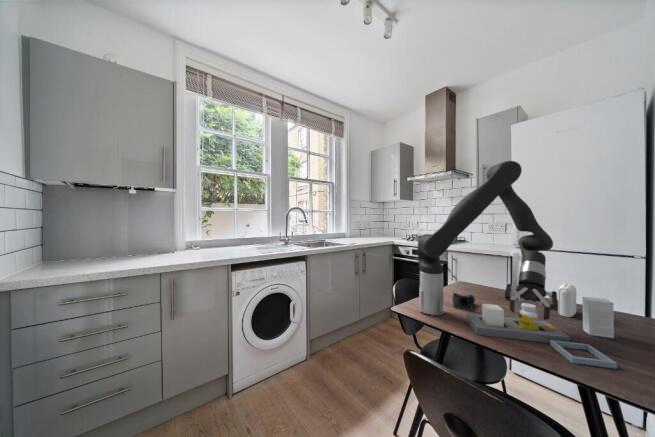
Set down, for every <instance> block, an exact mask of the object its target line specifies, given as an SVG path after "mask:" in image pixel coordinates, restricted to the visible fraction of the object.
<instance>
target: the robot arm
mask: <svg viewBox="0 0 655 437" xmlns="http://www.w3.org/2000/svg"><path fill="white" fill-rule="evenodd" d="M521 175H522V166H521V165H520V163H519V162H517V161H515V160H506V161H502V162H500V163H497V164H495V165H493V166H491V167H490V168H488V170H487V171H486V179H487V180H486V181H485V182H484V183H483V184H481V185H480V186H478V187H477V188H475V189H473V191H471V192H469V193H468V194H466V195H465V196H464V197H462V199H460V201H458V203H457V204H456V205H455V206H454V207H453V208H452V209H451V211H450V213H449V215H448V216H447V219H446V220H445V222H444V224H442V225H441V227H440V228H438V229H437V230H436V231H435V232H434V233H433V234H432V233H431V234H429V233H427V234H423V235H422V236H421V237H420V238H419V239H418V242H417V261H418V266H419V288H418V289H419V290H418V291H419V292H418V293H419V294H418V295H419V299H418V301H419V302H418V303H419V304H418V305H419V307H420V308H419V307H418V308H419V311H420V313H421V312H424V313H423V314H425V313H427V314H426V315H428V314H430V315H429V316H434V315H438V316H442V315H443V314H444V267H443V264H442V262H441V259H440V258H441V256H443V254H444V253H446V252H447V250H448V248H449V247H450V246H451V245H452V244H453V242H455V240H456V239H457V237H458V236H460V234H462V233H463V232H464V231H465V230H466V229H467V228H468V227H469V225H471V224H472V223H473V222H474V221H475V220H476V219H477V218H478V217H479V216H480V215H481V214H483V212H484V211H485V210H486V209H487V208H488V207H490V205H491V204H492V203H493V201H494V200H496V199H497V197H498V198H499V199H500V200H501V202H502V203H503V204H504V206H505V208H506V210H507V211H508V214H509V215H510V218H511V219H512V221H513V223H514V226H515V227H516V229H517V231H518V232H529V233H531V234H529V235H523V236H521V237H520V238H518V246H519V249H520V252H521V262H520V267H519V273H518V281H517V285H516V286H515V285H511V284H510V283H507V284H506V287H505V292H504V299H505V301H508V302H509V310H510V311H511V313H513V314H514V313H515V310H516V303H517V302H519V301H522V300H524V301H531V302H535V303H536V302H538V303H539V304H540V306H542V307H543V321H547V320H549V319H550V318H551V311H558V291H554V290H552V291H547V290H546V279H547V276H546V261H547V260H546V255H545V254H544V253H542V252H543V251H544V252H545V251H549V250H552V248H553V247H554V241H553V239H552V238H551V236H550V235H549V234H548V233H547V232H546V231H545V230H544V229H543V227H542V226H541V225H540V224H539V223H538V221H537V219H536V217H535V214H534V212H533V211H532V209H531V208H530V206H529V205H528V204H527V202H525V201H524V200H523V199H522V198H521V197H520V196H519V195H518V193H517V192H516V191H515V190H514V188H513V187H512V185H513V184H514V183H516V182H517V180H518V179H519V178H520V176H521ZM514 291H516V293H514V294H513V295H512V296H511V293H512V292H514ZM545 297H548V298H549V299H551V301H552V304H549V302H547V300H546V298H545Z"/></svg>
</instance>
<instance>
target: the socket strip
mask: <svg viewBox="0 0 655 437" xmlns="http://www.w3.org/2000/svg"><path fill="white" fill-rule="evenodd" d="M481 309H482V310H481V311H482V312H481V314H475V313H466V314H465V319H466V322H467V323H468V324H469V326H470V328H471V329H472V330H473V332H474V333H475V334H476V335H478V336H488V337H495V338H496V337H497V338H504V339H505V338H506V339H511V340H522V341H530V342H539V343H549V344H550V340H555V341H564V342H571V337H570V336H569V335H567V334H566V333H564V332H563V331H561V330H560V329H559V328H557V327H555V325H552V323H550V322H549V321H547V320H542V319H541V320H540V319H539V331H536V330H526V329H522V328H521V327H519V317H509V316H508V317H507V316H505V312H504V311H505V310H504V309H503V308H502V307H500V306H499V305H497V304H491V303H490V304H488V303H482V306H481Z"/></svg>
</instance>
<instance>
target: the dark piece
mask: <svg viewBox="0 0 655 437" xmlns="http://www.w3.org/2000/svg"><path fill="white" fill-rule="evenodd" d="M451 294H453V295H452V296H451V297H452V304H453V307H454V308H458V309H460V310H465V311H468V312H472V311H473V307H474V304H475V302H476V299H475V296H474V295H472V294H469V293H467V294H464V295H461V294H458V293H455V292H452V293H451Z"/></svg>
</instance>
